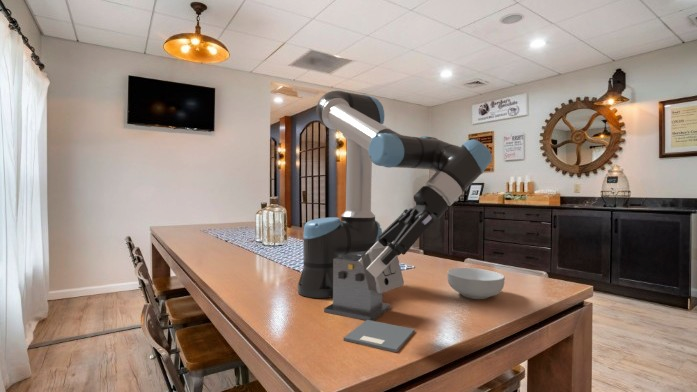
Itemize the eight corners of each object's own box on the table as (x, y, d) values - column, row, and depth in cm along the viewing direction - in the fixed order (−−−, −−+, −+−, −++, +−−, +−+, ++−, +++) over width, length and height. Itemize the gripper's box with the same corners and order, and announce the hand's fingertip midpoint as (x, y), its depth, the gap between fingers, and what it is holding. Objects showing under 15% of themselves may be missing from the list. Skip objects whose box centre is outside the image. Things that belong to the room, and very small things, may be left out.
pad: (343, 340, 75) (343, 337, 75) (367, 322, 85) (367, 319, 85) (396, 352, 69) (396, 349, 69) (414, 331, 80) (414, 328, 80)
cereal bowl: (477, 307, 97) (477, 282, 97) (435, 292, 112) (436, 270, 112) (516, 299, 105) (516, 275, 105) (473, 286, 120) (473, 265, 120)
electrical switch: (380, 294, 72) (377, 249, 72) (361, 292, 75) (358, 249, 76) (404, 286, 79) (401, 245, 79) (386, 284, 82) (383, 245, 83)
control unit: (324, 312, 92) (324, 259, 92) (345, 299, 103) (346, 252, 103) (372, 321, 86) (372, 264, 86) (390, 307, 96) (390, 257, 96)
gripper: (470, 209, 69) (391, 294, 67) (429, 206, 89) (368, 270, 87) (445, 182, 68) (364, 267, 66) (410, 185, 89) (347, 249, 86)
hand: (366, 269), depth 76 cm, fingers closed on electrical switch, 8 cm apart
